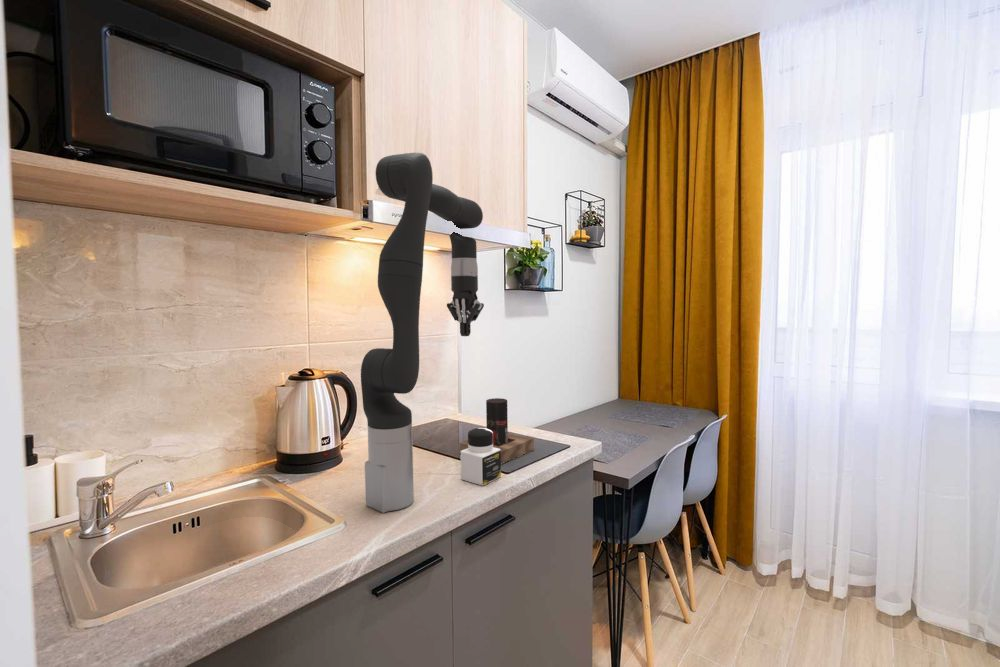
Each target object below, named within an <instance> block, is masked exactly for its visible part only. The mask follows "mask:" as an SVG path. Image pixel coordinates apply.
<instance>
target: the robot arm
mask: <svg viewBox="0 0 1000 667" xmlns="http://www.w3.org/2000/svg"><path fill="white" fill-rule="evenodd" d="M433 179H434V178H433V169H432V163H431V161H430V158H429V157H428V156H427V155H426V154H424V153H423V152H409V153H408V152H406V153H397V154H392V155H386V156H384V157H382V158H380V160H379V161H378V162H377V164H376V166H375V180H376V184H377V186H378V189H379V190H380V192H381V193H382V194H384V196H386V197H387V198H389V199H394V200H396V201H397V200H398V201H402V202H404V206H403V212H402V215H401V217H400V219H399V221H398V223H397V225H396V226H395V228H394V230H392V232H391V234H390V235H389V237H388V238H387V240H386V241H385V243H384V245H383V247H382V249H381V250H380V254H379V260H378V269H377V270H378V271H377V272H378V273H377V288H378V292H379V295H380V297H381V299H382V301H383V304H384V306H385V308H386V310H387V313H388V315H389V317H390V321H391V324H392V331H393V332H392V333H393V336H392V337H393V338H392V348H383V347H381V348H380V347H377V348H376V347H375V348H373V349H370V350H368V351H367V352H366V354H365V355H364V356H363V359H362V363H361V366H360V385H361V399H362V407H363V408H362V409H363V412H364V415H365V417H366V421H367V446H368V447H367V449H368V460H365V462H364V483H365V485H364V488H365V489H364V490H365V505H366V506H367V507H369V508H371V509H373V510H376V511H377V512H381V513H382V514H383V513H386V512H391V511H398V510H402V509H404V508H407V507H409V506H411V505H412V504H413V503H414V501H415V498H414V496H415V490H414V456H413V455H414V454H413V453H414V452H413V414H412V413H413V412H412V410H411V409H410V407H408V406H406V405H405V404H404V403H402V402H400V400H399V399H397V397H396V395H395V394H398V395H399V394H400V395H401V394H402V395H406V394H409V393H410V392H412V391H413V390H414V388H415V386H416V384H417V381H418V378H419V372H420V335H419V334H420V333H419V332H420V330H419V329H420V328H419V326H420V306H421V304H420V303H421V293H422V292H421V291H422V283H423V270H424V252H425V249H424V248H425V237H426V227H427V220H428V215H429V212H431V213H432V214H434V215H436V216H437V217H439V218H442V219H443V220H447V221H452V222H453V223H454V225H456V227H458V228H460V229H461V230H463V229H464V230H465V229H467V230H468V229H475V228H477V227H479V226H480V225H481V223H482V222H483V220H484V219H483V218H484V215H483V214H484V213H483V210H482V207H481V206H480V205H479V204H478V203H477V202H475V200H471V199H469V198H465V197H461V196H458V195H457V194H455V193H454V192H453V191H451V190H450V189H448V188H446V187H444V186H441V185H438V184H436V183H433ZM448 235H449V234H448ZM462 235H463V234H462ZM462 235H460V234H458V233H455V232H453V233H452V234H451V235H449V240H450V243H451V245H450V246H451V263H450V265H451V266H450V276H451V277H450V280H451V281H450V284H451V288H450V289H451V292H453V295H452V301H450V302H447V303H446V308H447V309H448V312H449V313H450V315H451V316H452V318H453V320H454V321H456V322H458V323H459V333H460V336H461V337H470V336H471V330H472V329H471V323H472V322H475V321H476V320H477V319H478V317H479V315H480V314H481V312H482V310H483V308H484V306H485V304H484V303H483V302H480V301H479V300H478V294H477V292H478V290H479V278H478V276H479V275H478V274H479V273H478V272H479V271H478V270H479V267H478V261H477V260H478V259H477V256H478V255H477V252H478V250H477V240H476V239H475V238H474V237H469V236H464V235H463V236H462Z"/></svg>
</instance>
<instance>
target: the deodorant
mask: <svg viewBox="0 0 1000 667" xmlns="http://www.w3.org/2000/svg"><path fill="white" fill-rule="evenodd" d="M485 404H486V406H485V407H486V412H485V413H486V414H485V415H486V418H485V420H486V429H489V430H491V431H492V432H493V445H495V446H502V445H504V444H507V443H508V433H509V432H508V429H509V428H508V427H509V426H508V423H509V422H508V417H509V416H508V399H506V398H501V397H500V398H499V397H498V398H497V397H496V398H495V397H494V398H489V399H486V400H485Z"/></svg>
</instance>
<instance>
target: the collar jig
mask: <svg viewBox="0 0 1000 667" xmlns="http://www.w3.org/2000/svg"><path fill="white" fill-rule="evenodd" d="M493 447H495V448H499V449H500V450H501V463H503V462H506V461H509V460H511V459H513V458H515V459H517V458H516V457H518V456H520V457H522V456H524V455H523V454H525V455H527V454H529V453H531V452H534V451H535V439H534V437H529V436H524V435H522V434H521V435H520V434H516V433H513V432H512V433H511V432H508V443H507V444H504V445H502V446H495V445H493ZM467 448H469V447H468V439H466V440H464V441H460V442H459V454H460V453H461V451H462V450H464V449H467ZM533 450H534V451H533ZM528 452H529V453H528ZM526 453H527V454H526ZM521 455H522V456H521ZM518 458H519V457H518ZM513 460H514V459H513ZM511 461H512V460H511ZM509 462H510V461H509ZM506 463H507V462H506Z"/></svg>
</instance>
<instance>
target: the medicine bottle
mask: <svg viewBox="0 0 1000 667" xmlns="http://www.w3.org/2000/svg"><path fill="white" fill-rule="evenodd" d="M467 440H468V447H469V448H467V449H464V450H462V451H461V455H460V479H461V480H463V481H466V482H469V483H473V484H475V485H479V486H485V485H488V484H489V483H491V482H494V481H495V480H497V479H499V478H501V477H502V465H501V450H500V449H499V448H495V447H493V432H492V431H491V430H489V429H487V427H485V428H484V427H476V428H473V429H471V430H468V432H467Z"/></svg>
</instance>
